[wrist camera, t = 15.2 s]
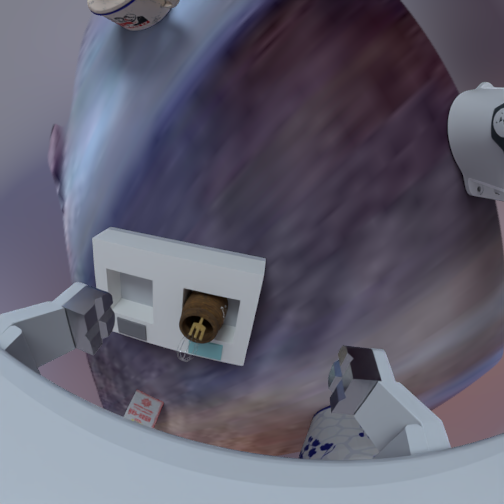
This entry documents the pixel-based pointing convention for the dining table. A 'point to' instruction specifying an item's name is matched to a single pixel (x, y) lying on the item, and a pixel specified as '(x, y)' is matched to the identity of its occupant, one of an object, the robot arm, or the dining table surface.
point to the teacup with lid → (132, 11)
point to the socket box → (176, 289)
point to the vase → (336, 438)
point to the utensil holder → (202, 318)
